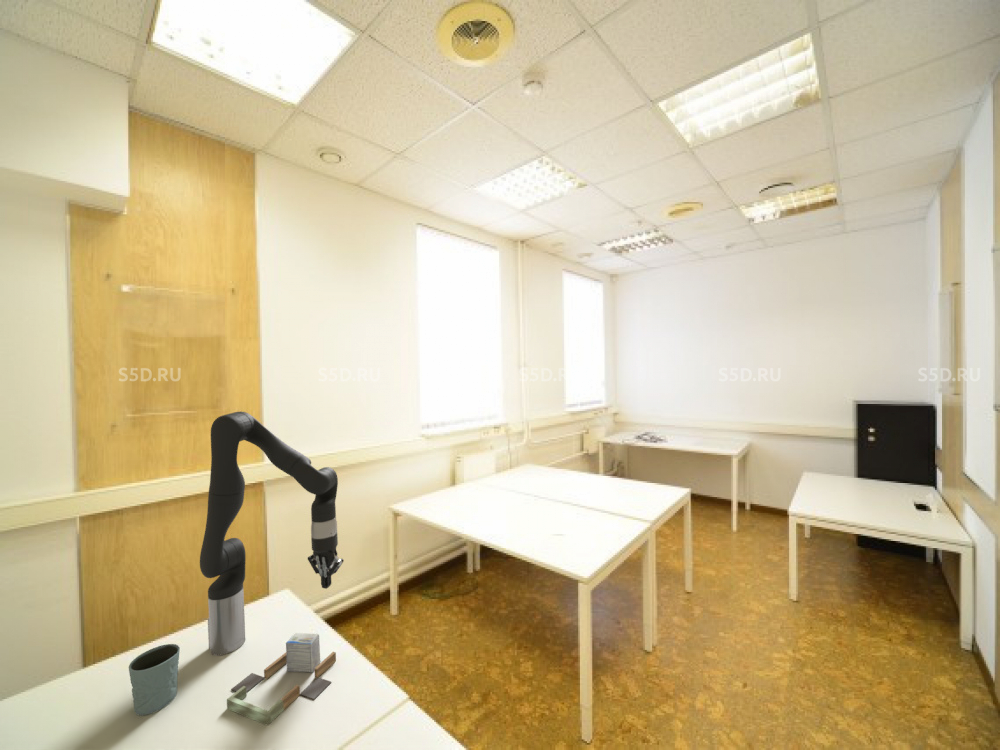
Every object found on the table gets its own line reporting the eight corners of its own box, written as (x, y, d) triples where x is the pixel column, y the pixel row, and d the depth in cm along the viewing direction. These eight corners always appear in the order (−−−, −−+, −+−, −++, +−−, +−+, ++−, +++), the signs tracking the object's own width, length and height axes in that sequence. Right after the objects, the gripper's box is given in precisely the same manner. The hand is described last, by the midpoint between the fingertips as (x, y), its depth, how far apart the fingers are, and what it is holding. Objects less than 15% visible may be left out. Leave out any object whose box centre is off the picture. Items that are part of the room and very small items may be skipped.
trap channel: (214, 703, 103) (213, 694, 103) (287, 645, 124) (287, 638, 124) (282, 731, 94) (282, 721, 94) (349, 664, 115) (349, 656, 115)
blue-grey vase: (121, 722, 98) (119, 675, 98) (145, 690, 108) (143, 647, 108) (169, 711, 101) (167, 665, 101) (188, 681, 111) (186, 639, 111)
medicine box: (320, 661, 117) (319, 633, 117) (312, 673, 112) (311, 643, 112) (296, 660, 118) (294, 632, 118) (286, 672, 113) (285, 642, 113)
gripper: (298, 534, 122) (300, 589, 122) (331, 540, 118) (333, 597, 118) (317, 525, 129) (319, 577, 129) (349, 530, 125) (351, 584, 125)
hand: (326, 587), depth 124 cm, fingers closed
